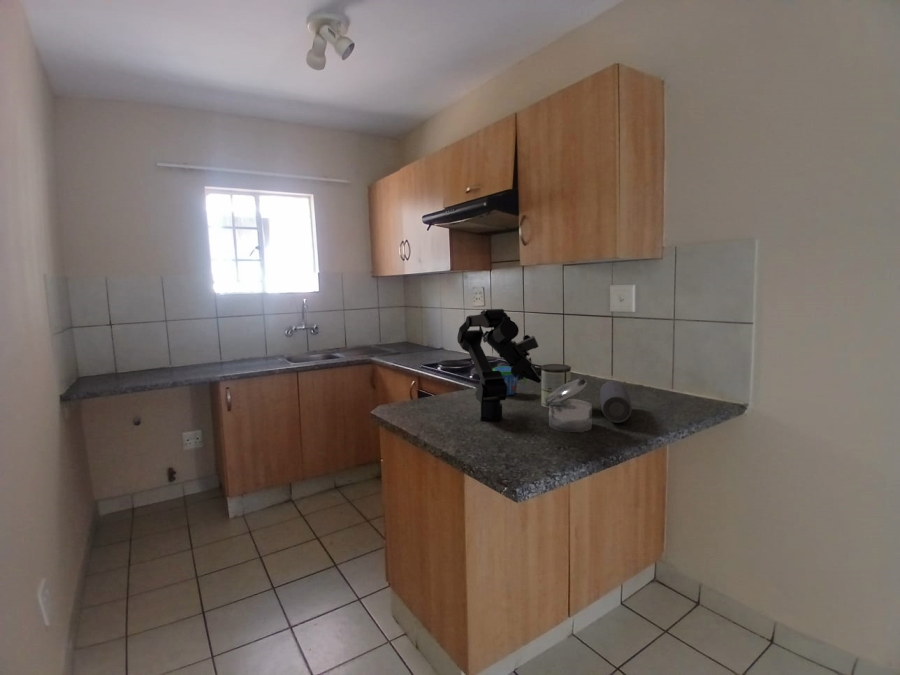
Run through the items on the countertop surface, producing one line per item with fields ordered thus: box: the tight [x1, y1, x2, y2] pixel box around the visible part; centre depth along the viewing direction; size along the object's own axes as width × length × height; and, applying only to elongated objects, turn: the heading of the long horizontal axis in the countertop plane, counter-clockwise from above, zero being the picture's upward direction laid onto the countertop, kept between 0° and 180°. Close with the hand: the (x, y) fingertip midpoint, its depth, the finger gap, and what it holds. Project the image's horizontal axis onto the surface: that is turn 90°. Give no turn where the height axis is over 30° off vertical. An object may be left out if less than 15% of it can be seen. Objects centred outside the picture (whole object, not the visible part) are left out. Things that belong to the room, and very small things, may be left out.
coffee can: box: [540, 363, 572, 409], centre depth 157 cm, size 10×10×14 cm
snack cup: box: [492, 365, 527, 396], centre depth 175 cm, size 16×10×10 cm
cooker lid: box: [545, 373, 588, 405], centre depth 134 cm, size 14×13×2 cm
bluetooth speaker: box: [599, 380, 633, 424], centre depth 144 cm, size 23×9×10 cm, turn 163°
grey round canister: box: [548, 398, 593, 433], centre depth 135 cm, size 13×13×7 cm
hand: (540, 381), depth 135 cm, fingers closed
